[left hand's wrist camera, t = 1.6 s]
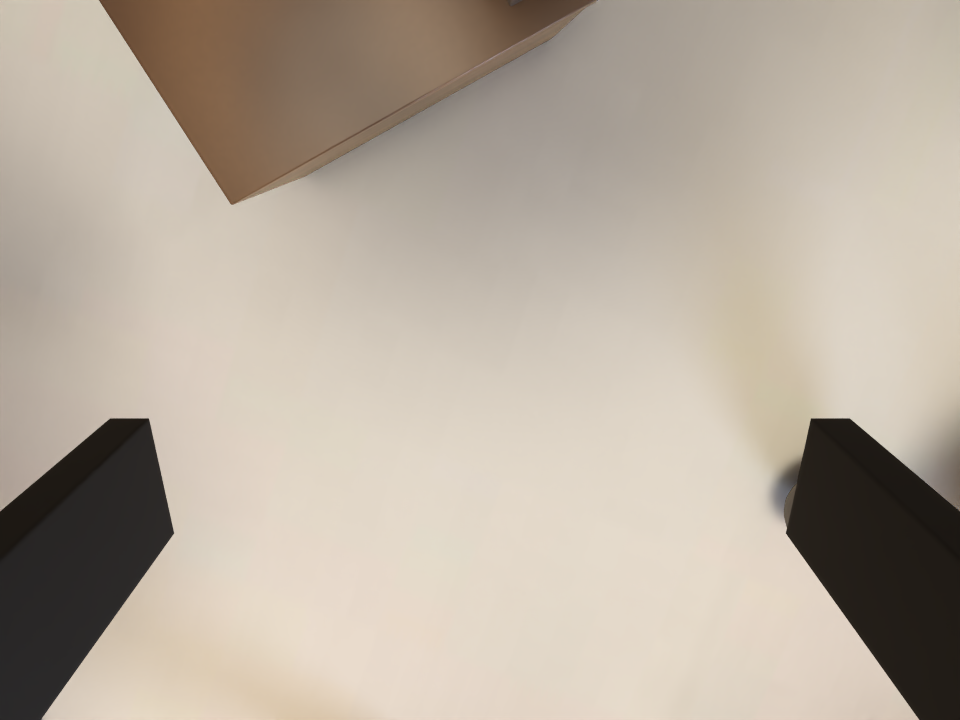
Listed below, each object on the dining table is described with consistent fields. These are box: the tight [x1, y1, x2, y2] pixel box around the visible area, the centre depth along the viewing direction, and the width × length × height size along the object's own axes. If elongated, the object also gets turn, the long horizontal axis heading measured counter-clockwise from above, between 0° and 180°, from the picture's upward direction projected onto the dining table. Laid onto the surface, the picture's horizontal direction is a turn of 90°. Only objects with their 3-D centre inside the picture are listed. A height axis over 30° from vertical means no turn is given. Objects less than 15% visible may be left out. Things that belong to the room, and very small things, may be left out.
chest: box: [243, 8, 585, 201], centre depth 27 cm, size 15×9×10 cm, turn 117°
